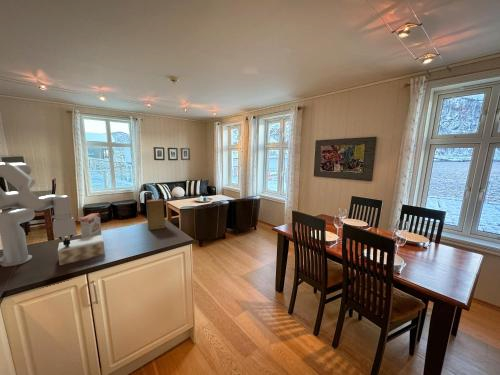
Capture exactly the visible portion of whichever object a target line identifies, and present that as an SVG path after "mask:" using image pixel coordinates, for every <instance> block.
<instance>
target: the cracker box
mask: <svg viewBox="0 0 500 375" xmlns="http://www.w3.org/2000/svg"><path fill="white" fill-rule="evenodd" d="M79 220H80V233H81V239H82V238H88V237H93V236H98V235H102V226H101V213H99V212H97V213H96V212H95V213H93V212H92V213H89V214H87V215H86V216H83V217H81V218H79Z"/></svg>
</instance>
